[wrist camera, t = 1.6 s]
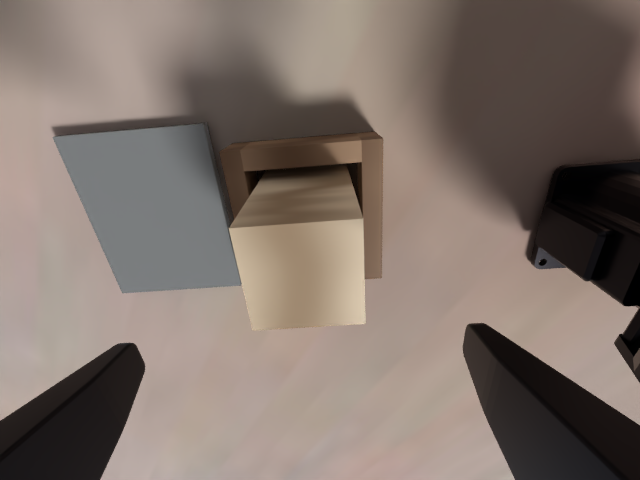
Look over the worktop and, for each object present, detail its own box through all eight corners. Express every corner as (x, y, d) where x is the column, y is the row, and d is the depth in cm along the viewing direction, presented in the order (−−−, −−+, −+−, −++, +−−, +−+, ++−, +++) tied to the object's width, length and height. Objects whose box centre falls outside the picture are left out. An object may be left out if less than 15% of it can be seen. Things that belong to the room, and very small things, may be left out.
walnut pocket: (374, 131, 16) (383, 138, 14) (375, 256, 20) (381, 278, 18) (232, 143, 17) (219, 152, 15) (256, 264, 20) (249, 286, 18)
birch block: (346, 163, 17) (363, 218, 10) (349, 235, 19) (365, 323, 12) (266, 169, 18) (228, 228, 10) (277, 240, 20) (252, 330, 12)
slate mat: (206, 122, 16) (202, 123, 16) (242, 280, 21) (241, 285, 20) (61, 135, 17) (52, 137, 16) (127, 288, 21) (122, 293, 21)
